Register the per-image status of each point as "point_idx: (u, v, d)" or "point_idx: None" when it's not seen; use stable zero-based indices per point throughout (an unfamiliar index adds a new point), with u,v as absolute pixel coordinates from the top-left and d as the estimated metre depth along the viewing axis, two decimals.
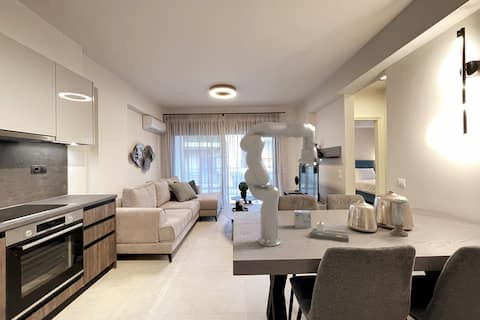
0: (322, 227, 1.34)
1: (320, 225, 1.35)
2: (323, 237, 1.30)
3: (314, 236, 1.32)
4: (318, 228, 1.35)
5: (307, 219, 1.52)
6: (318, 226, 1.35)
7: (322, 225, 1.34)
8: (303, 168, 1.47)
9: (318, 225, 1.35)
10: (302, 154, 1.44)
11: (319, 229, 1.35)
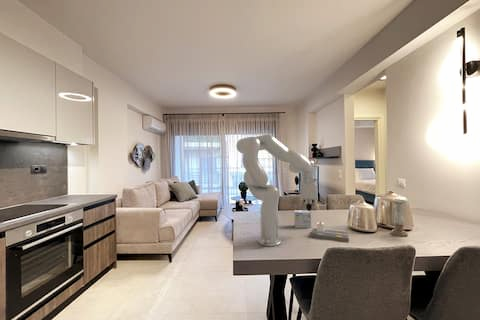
0: (322, 227, 1.34)
1: (320, 225, 1.35)
2: (323, 237, 1.30)
3: (314, 236, 1.32)
4: (318, 228, 1.35)
5: (307, 219, 1.52)
6: (318, 226, 1.35)
7: (322, 225, 1.34)
8: None
9: (318, 225, 1.35)
10: None
11: (319, 229, 1.35)
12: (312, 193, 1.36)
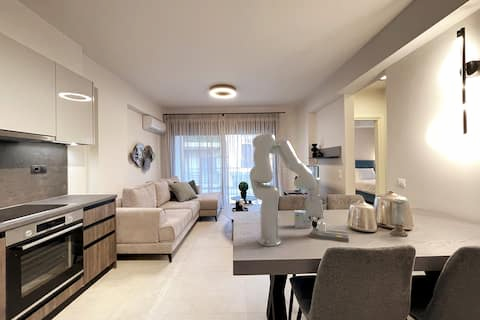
0: (323, 227, 1.34)
1: (321, 225, 1.34)
2: (323, 237, 1.30)
3: (314, 236, 1.32)
4: (319, 228, 1.35)
5: (307, 219, 1.52)
6: (319, 226, 1.35)
7: (323, 225, 1.34)
8: None
9: (319, 225, 1.35)
10: None
11: (320, 229, 1.34)
12: (318, 211, 1.35)
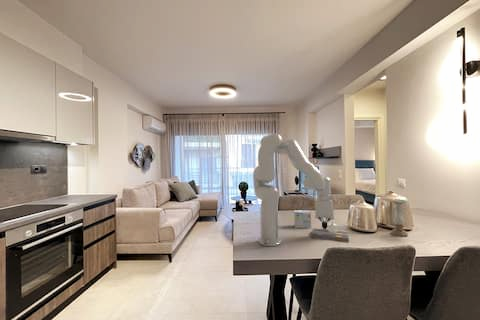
0: (334, 228, 1.31)
1: (332, 226, 1.32)
2: (323, 237, 1.30)
3: (314, 236, 1.32)
4: (330, 229, 1.32)
5: (307, 219, 1.52)
6: (330, 227, 1.32)
7: (334, 226, 1.31)
8: (324, 223, 1.36)
9: (330, 226, 1.32)
10: None
11: (331, 230, 1.32)
12: (328, 211, 1.33)
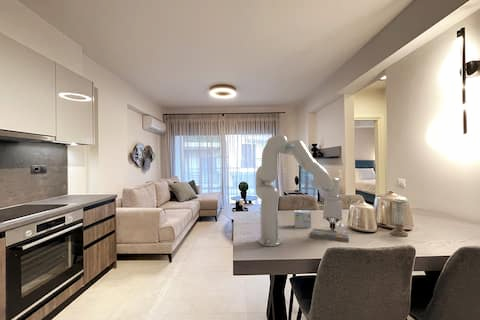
0: (342, 229, 1.30)
1: (340, 227, 1.30)
2: (323, 237, 1.30)
3: (314, 236, 1.32)
4: (338, 230, 1.31)
5: (307, 219, 1.52)
6: (338, 228, 1.31)
7: (342, 227, 1.30)
8: None
9: (338, 227, 1.31)
10: None
11: (339, 231, 1.30)
12: (337, 212, 1.31)
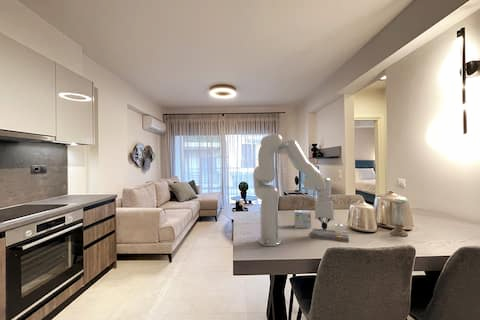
0: (341, 229, 1.30)
1: (339, 227, 1.30)
2: (323, 237, 1.30)
3: (314, 236, 1.32)
4: (336, 230, 1.31)
5: (307, 219, 1.52)
6: (336, 228, 1.31)
7: (341, 227, 1.30)
8: None
9: (336, 227, 1.31)
10: None
11: (337, 231, 1.31)
12: (328, 212, 1.32)
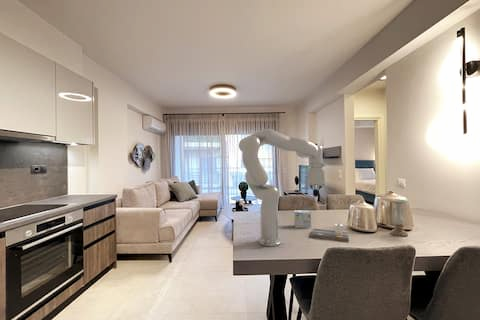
0: (341, 229, 1.30)
1: (339, 227, 1.30)
2: (323, 237, 1.30)
3: (314, 236, 1.32)
4: (336, 230, 1.31)
5: (307, 219, 1.52)
6: (336, 228, 1.31)
7: (341, 227, 1.30)
8: None
9: (336, 227, 1.31)
10: None
11: (337, 231, 1.31)
12: (320, 178, 1.34)
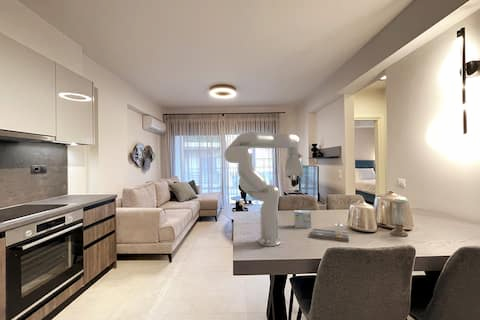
0: (341, 229, 1.30)
1: (339, 227, 1.30)
2: (323, 237, 1.30)
3: (314, 236, 1.32)
4: (336, 230, 1.31)
5: (307, 219, 1.52)
6: (336, 228, 1.31)
7: (341, 227, 1.30)
8: None
9: (336, 227, 1.31)
10: None
11: (337, 231, 1.31)
12: (297, 169, 1.37)
